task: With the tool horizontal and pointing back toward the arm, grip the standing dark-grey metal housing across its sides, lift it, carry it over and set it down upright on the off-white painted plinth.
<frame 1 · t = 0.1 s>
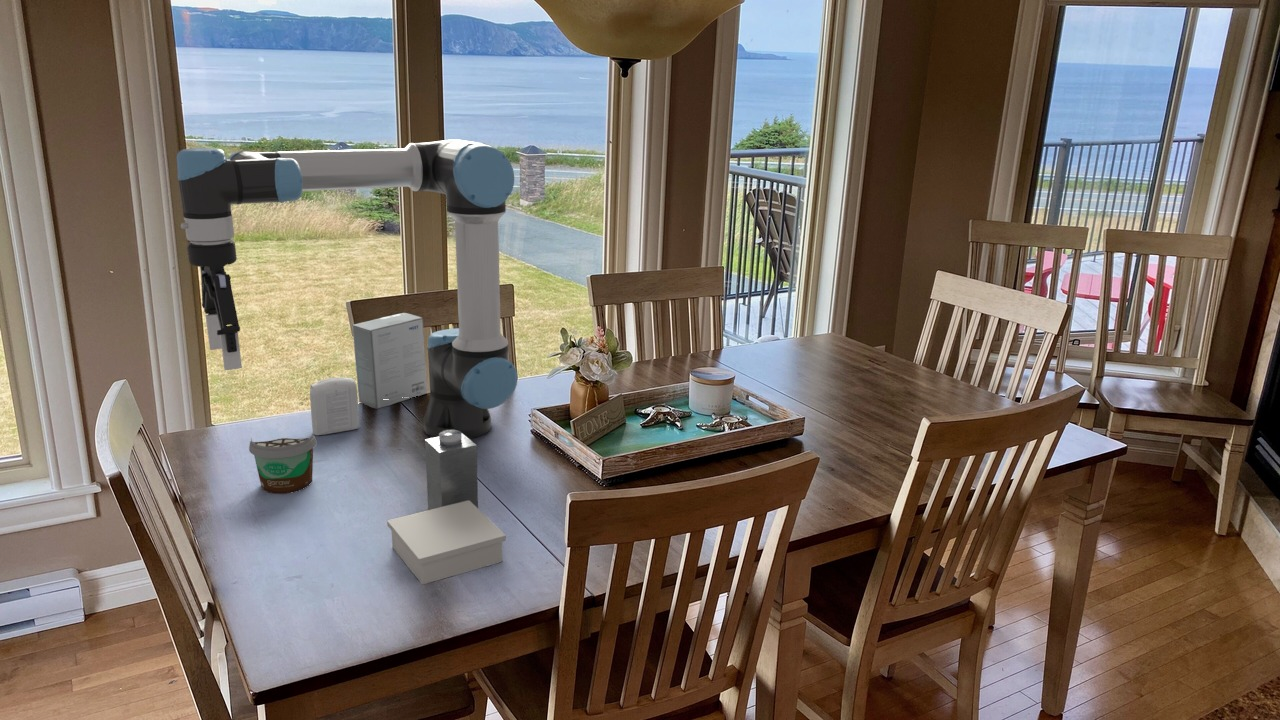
hand: (225, 358, 163), 28 cm above the table, tool pointing down, fingers open, 13 cm apart
plinth: (446, 554, 155), on the table
hard drive box: (393, 399, 226), on the table
food container: (285, 490, 177), on the table
housing: (453, 511, 170), on the table
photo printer: (336, 431, 205), on the table
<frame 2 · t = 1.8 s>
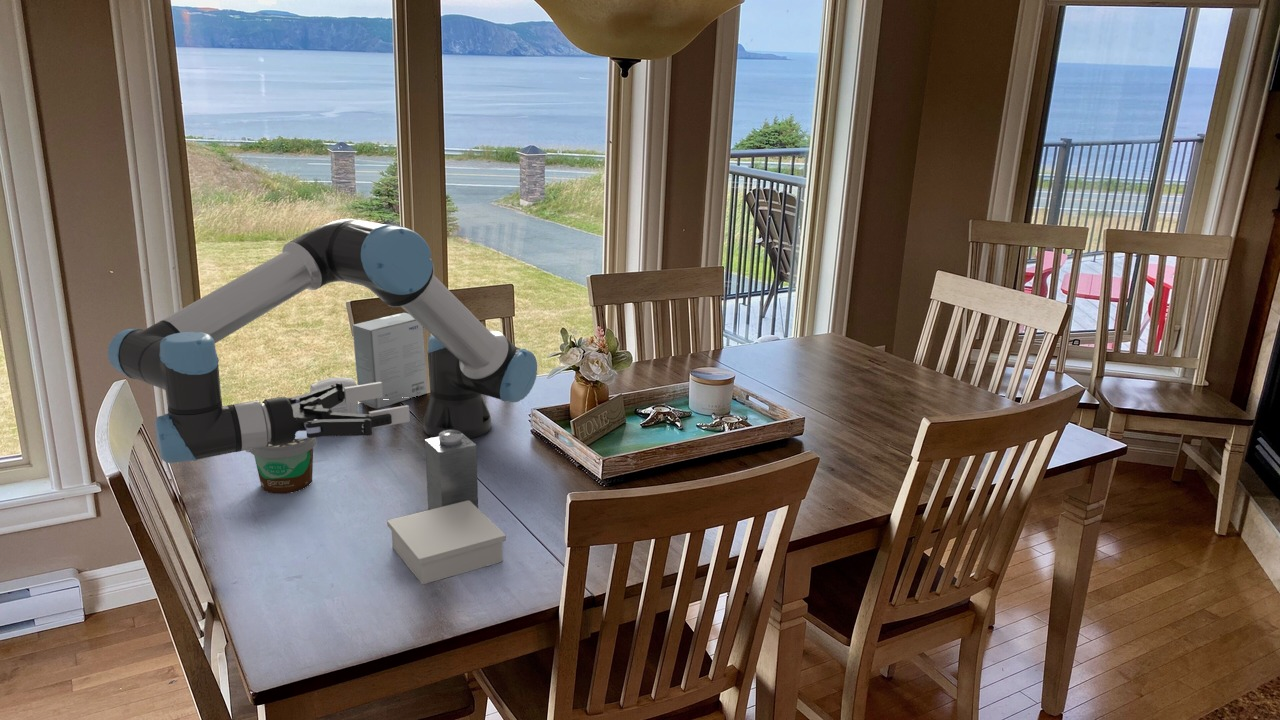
hand: (395, 400, 157), 24 cm above the table, tool horizontal, fingers open, 13 cm apart
nothing on the table moved.
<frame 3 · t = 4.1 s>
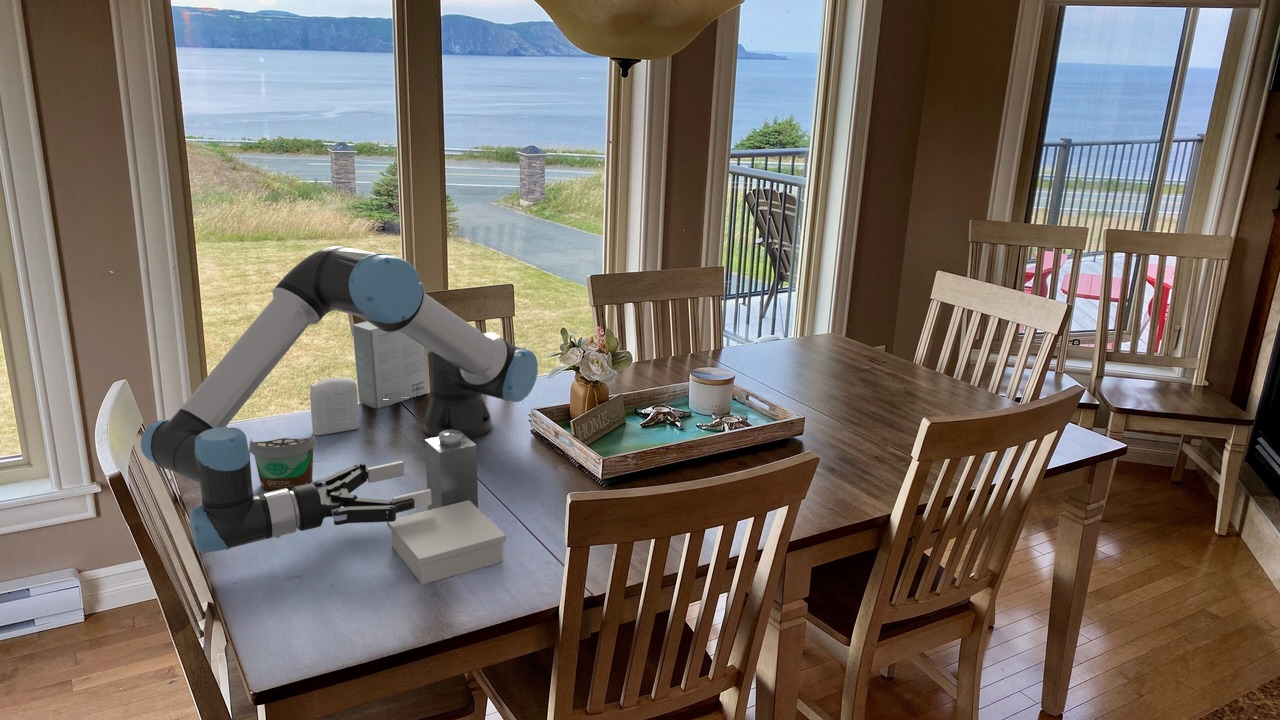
hand: (416, 481, 164), 8 cm above the table, tool horizontal, fingers open, 13 cm apart
nothing on the table moved.
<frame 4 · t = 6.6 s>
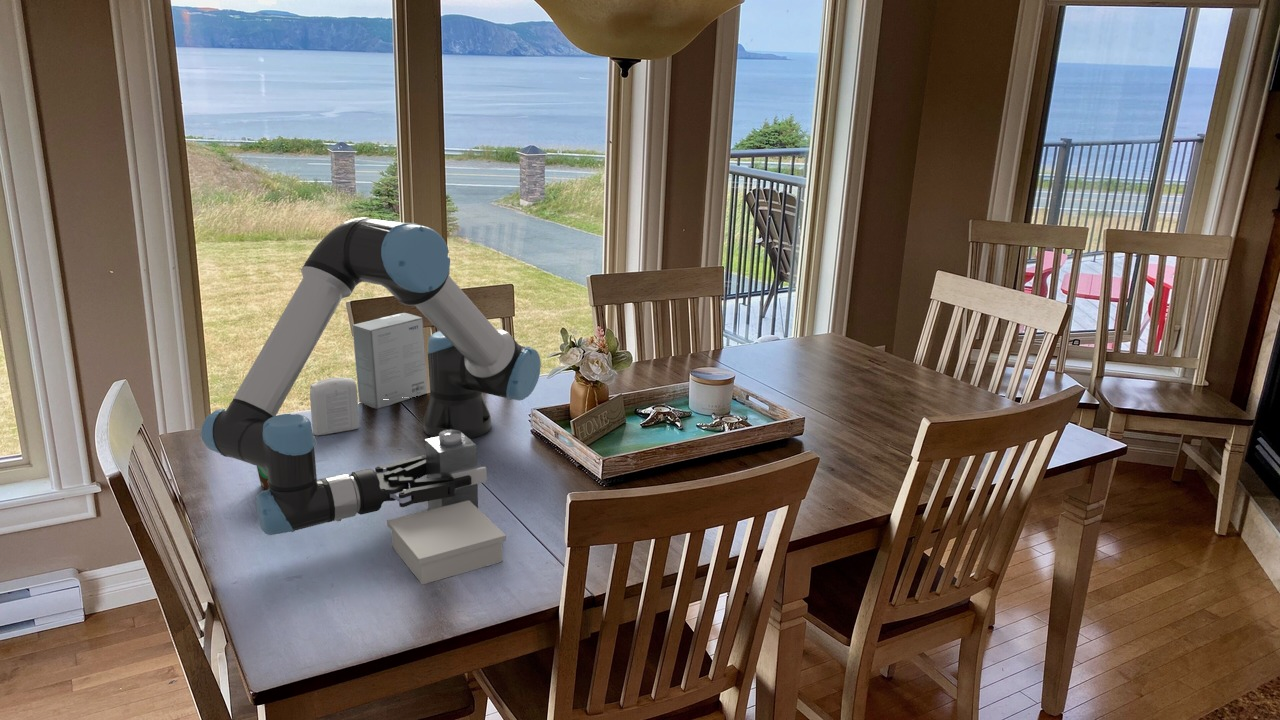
hand: (476, 466, 170), 8 cm above the table, tool horizontal, fingers closed on housing, 7 cm apart
housing: (453, 511, 170), on the table, touching gripper
everything else where it was.
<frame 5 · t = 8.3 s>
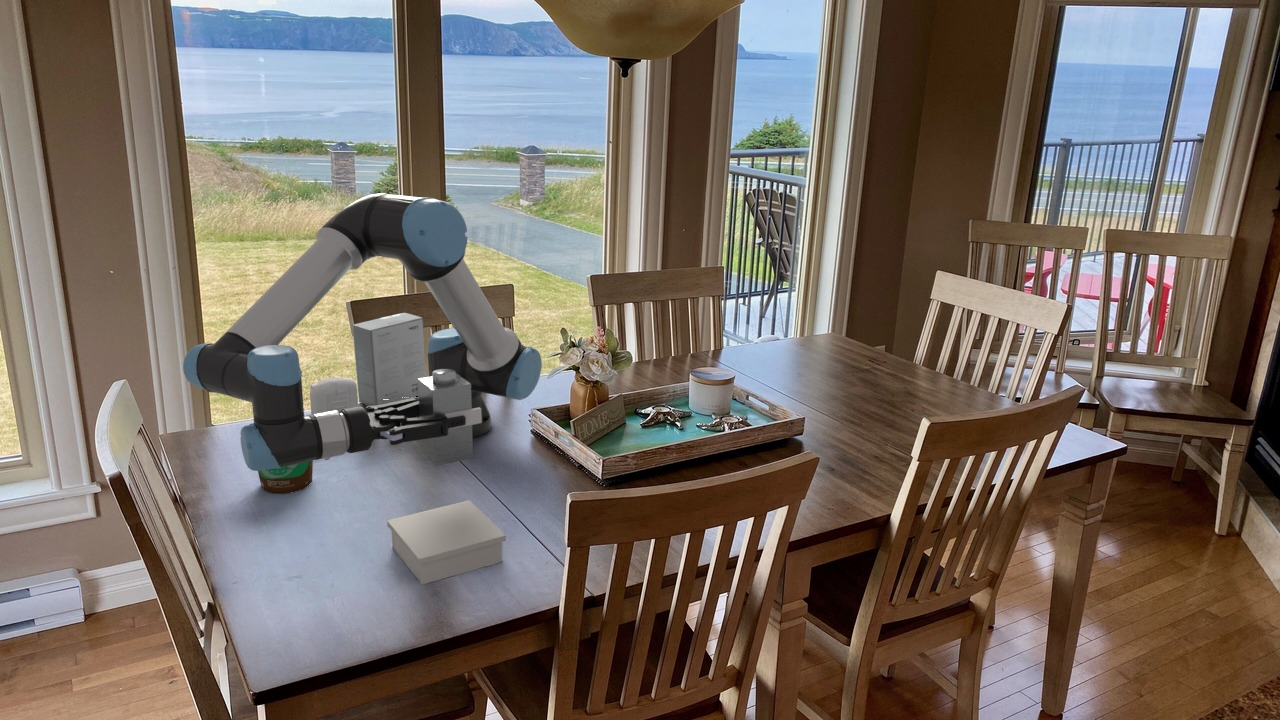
hand: (471, 408, 164), 20 cm above the table, tool horizontal, fingers closed on housing, 7 cm apart
housing: (446, 455, 164), point 12 cm above the table, touching gripper
everything else where it was.
when the fingers open (14 cm above the table, at t = 10.4 s): housing drops 1 cm, resting on plinth.
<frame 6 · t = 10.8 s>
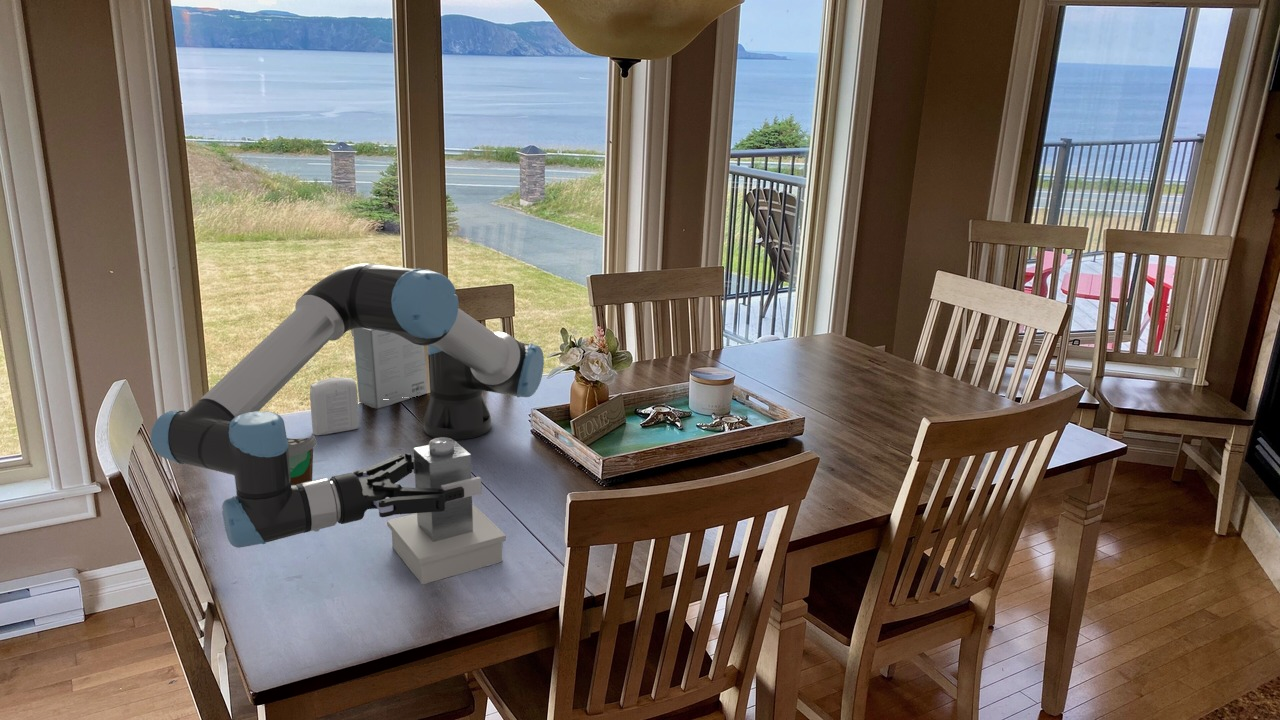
hand: (465, 471, 153), 14 cm above the table, tool horizontal, fingers open, 11 cm apart
housing: (445, 527, 153), point 5 cm above the table, touching plinth
everything else where it was.
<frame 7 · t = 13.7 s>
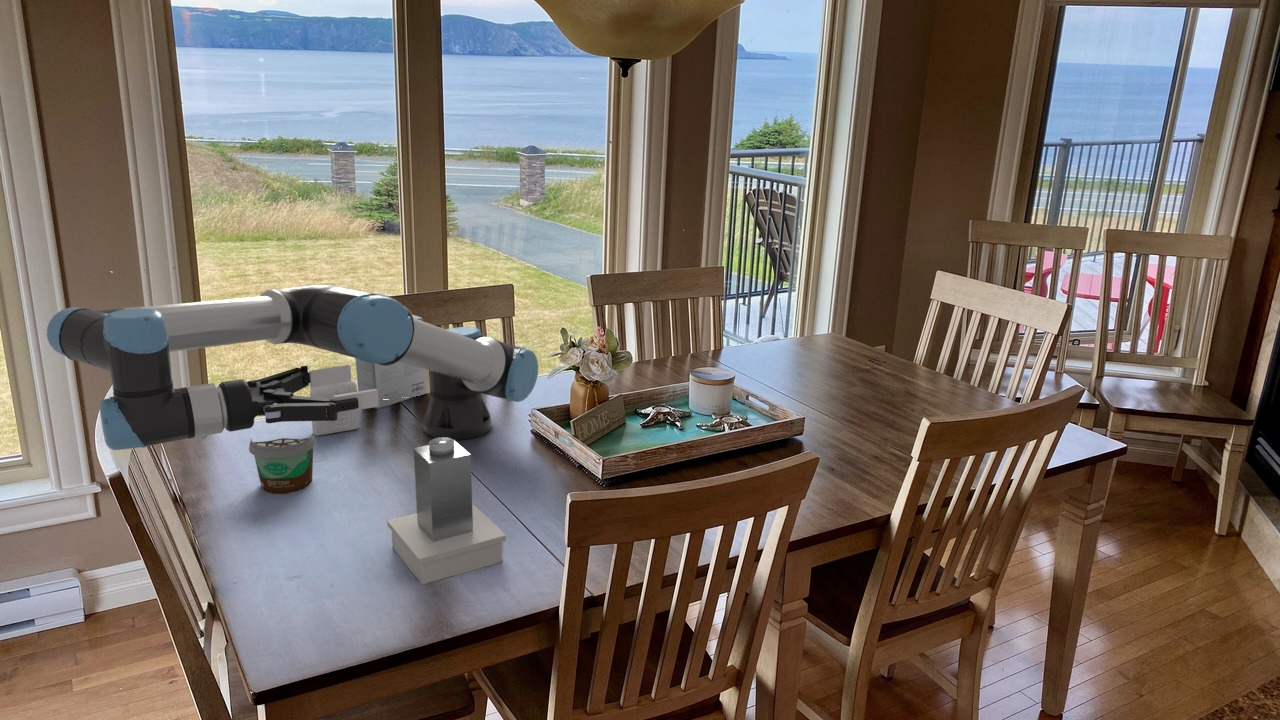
hand: (363, 384, 147), 30 cm above the table, tool horizontal, fingers open, 13 cm apart
nothing on the table moved.
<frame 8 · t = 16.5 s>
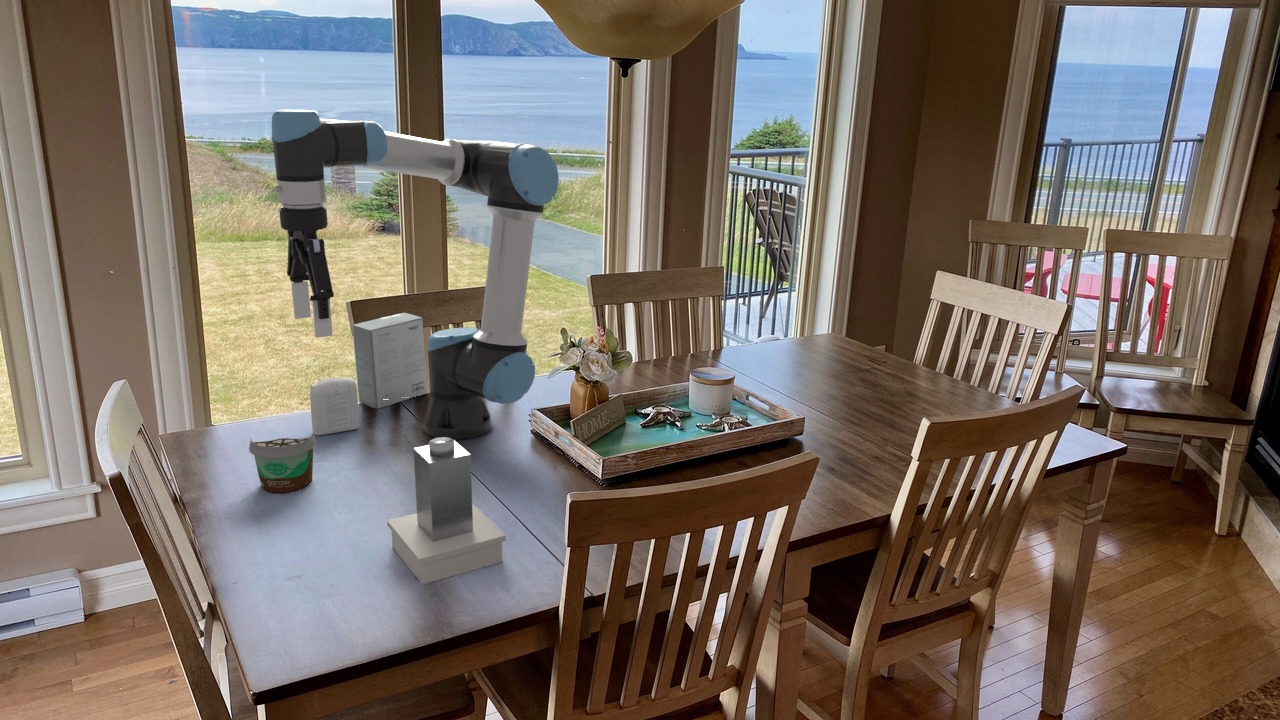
hand: (312, 326, 160), 35 cm above the table, tool pointing down, fingers open, 13 cm apart
nothing on the table moved.
at the end: housing inside the target area on the plinth (0.1 cm from its centre), point 5.0 cm above the plinth's base; housing tilted 0°; the gripper is holding nothing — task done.
